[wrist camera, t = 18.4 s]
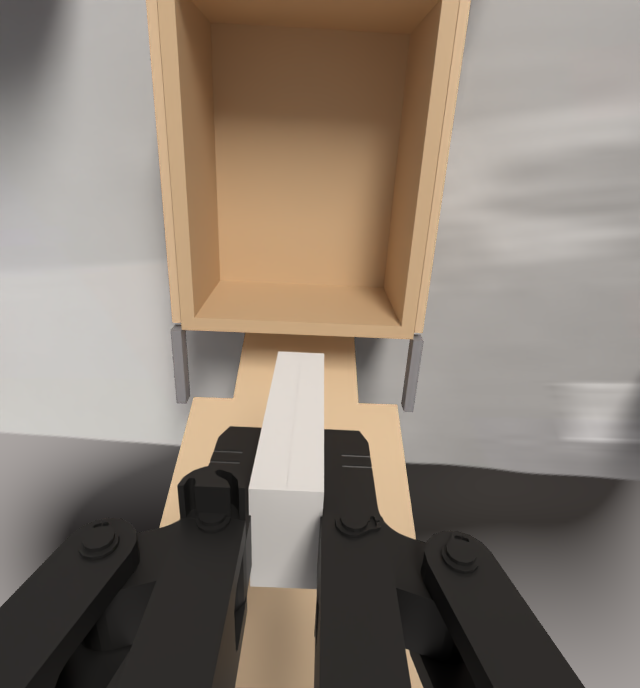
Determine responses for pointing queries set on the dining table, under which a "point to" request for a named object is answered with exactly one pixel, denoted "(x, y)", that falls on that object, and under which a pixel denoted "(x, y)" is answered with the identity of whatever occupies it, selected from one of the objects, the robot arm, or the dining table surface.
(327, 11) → the carton
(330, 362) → the flap
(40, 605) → the robot arm
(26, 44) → the dining table surface
